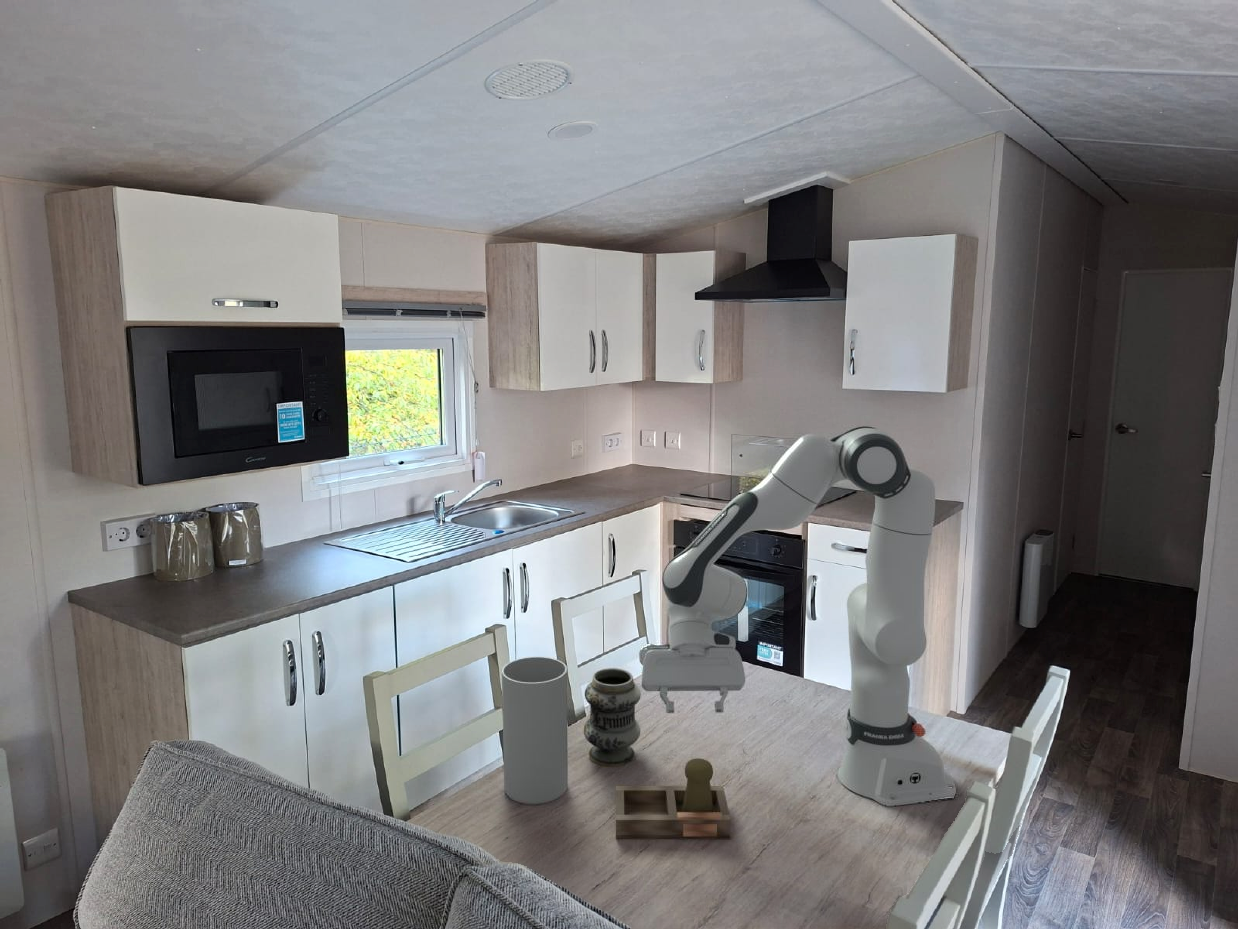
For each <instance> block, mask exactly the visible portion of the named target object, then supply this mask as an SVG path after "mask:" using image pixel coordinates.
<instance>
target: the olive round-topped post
mask: <svg viewBox="0 0 1238 929" xmlns="http://www.w3.org/2000/svg"><path fill="white" fill-rule="evenodd" d="M713 774H714V769H713V765H712V764H711V762H710V761H708V760H707V759H704V758H700V757H699V758H698V757H697V758H693V759H689V761H687V762H686V764H685V766H684V775H685V777H686V778H685V779H687V781H686V785H685V786H686V791H685V798H684V804H683V810H682V812H713V804H712V795H711V786H712V785H711V780H712V779H713V777H714V776H713Z"/></svg>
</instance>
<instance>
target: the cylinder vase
mask: <svg viewBox="0 0 1238 929" xmlns="http://www.w3.org/2000/svg"><path fill="white" fill-rule="evenodd" d="M501 689H502V691H501V694H502V698H501V699H502V703H501V704H502V736H503V738H502V739H503V742H502V743H503V744H502V745H503V746H502V747H503V748H502V749H503V788H504V791H505V794H506V795H507V796H508V797H509V798H510V799H511V800H513V801H515V802H517V803H521V804H524V805H542V804H548V803H551V802H554V801H555V800H557V799H559V798H560V797H561V796H563V795H564V794H565V793H566V791H567V790H568V783H569V778H568V776H569V774H568V771H569V769H568V768H569V767H568V766H569V764H568V763H569V762H568V758H569V757H568V749H569V748H568V667H567V665H566V664H565V663H564V662H562V661H561V660H559V659H556V658H552V657H547V656H527V657H521V658H517V659H514V660H512V661H510V662H507V663H506V664H505V665H504V666H502V668H501Z"/></svg>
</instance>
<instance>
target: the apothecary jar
mask: <svg viewBox="0 0 1238 929" xmlns="http://www.w3.org/2000/svg"><path fill="white" fill-rule="evenodd" d="M641 695H642V692H641V689H640V687H639V685H638V684H637V683H636V682H635V681H634V676H633V674H632V673H631V672H630V671H628V670H626V669H623V668H616V667H609V668H608V667H607V668H603V669H599V670H597V671H595V672H594V673H593V675H592V680H591V682H589V683H588V684H587V686H586V687H585V689H584V699H585V700H586V702H587V704H589V705H590V712H589V714H590V715H589V718H588V719H587V720H586V722H585V723H584V725H583V726H584V727H583V733H584V734H583V735H584V737H585V740H586V741H587V742H588V743H590V744H591V745H592V747H591V748H590V750H589V752H588V757H589V759H590V760H591V761H592V762H593V763H595V764H597V765H599V766H604V767H610V768H611V767H621V766H624V765H627V763H628V762H632V761H633V760H634V759H635V757H636V753H635V751H634V749H633V747H631V746H632V745H633V744H635V743H636V742H637V741H638V740H639V738H640V735H641V726H640V724H639V722H638V720H637V719H635V718H636V717H635V715H636V712H635V708H636V705H637V704H638V703H639V701H640V699H641Z"/></svg>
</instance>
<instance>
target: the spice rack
mask: <svg viewBox="0 0 1238 929" xmlns="http://www.w3.org/2000/svg"><path fill="white" fill-rule="evenodd" d="M710 786H711V795H712V804H713V812H682V810H683V804H684V798H685V791H686V785H615V839H616V840H731V830H732V829H731V827H732V819H731V815H730V810H729V806H728V801H727V797H726V793H725V788H724V785H710Z"/></svg>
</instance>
